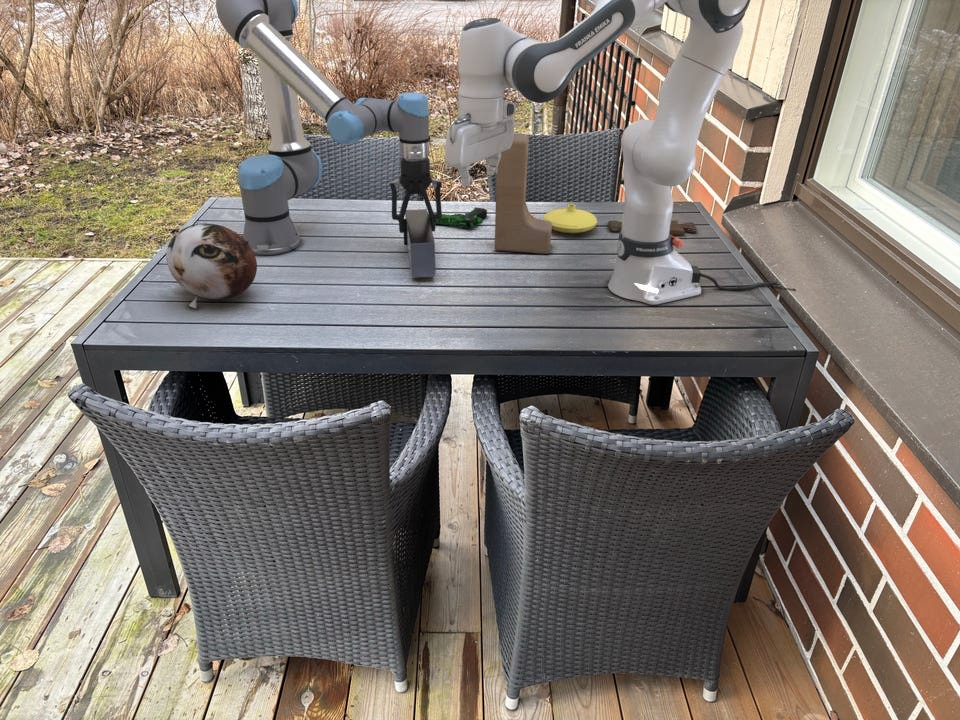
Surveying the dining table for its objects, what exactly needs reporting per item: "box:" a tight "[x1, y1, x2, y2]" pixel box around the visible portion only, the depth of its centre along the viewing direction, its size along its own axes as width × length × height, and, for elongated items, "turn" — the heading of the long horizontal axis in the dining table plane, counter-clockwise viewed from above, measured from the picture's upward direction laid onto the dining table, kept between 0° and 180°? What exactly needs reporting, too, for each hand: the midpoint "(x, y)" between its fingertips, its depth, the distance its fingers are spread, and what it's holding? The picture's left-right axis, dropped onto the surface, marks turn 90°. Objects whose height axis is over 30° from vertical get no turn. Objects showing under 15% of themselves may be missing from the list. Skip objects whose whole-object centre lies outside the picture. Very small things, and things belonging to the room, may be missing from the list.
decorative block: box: [494, 133, 553, 255], centre depth 190 cm, size 8×15×30 cm, turn 82°
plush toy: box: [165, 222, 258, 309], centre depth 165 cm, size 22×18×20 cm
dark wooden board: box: [607, 219, 697, 235], centre depth 211 cm, size 26×2×10 cm
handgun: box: [428, 207, 488, 230], centre depth 215 cm, size 16×3×15 cm
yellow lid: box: [543, 203, 598, 234], centre depth 209 cm, size 16×16×7 cm
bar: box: [404, 208, 436, 279], centre depth 185 cm, size 25×6×9 cm, turn 8°
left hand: (417, 242), depth 194 cm, fingers closed on bar, 6 cm apart
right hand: (479, 179), depth 147 cm, fingers open, 8 cm apart
